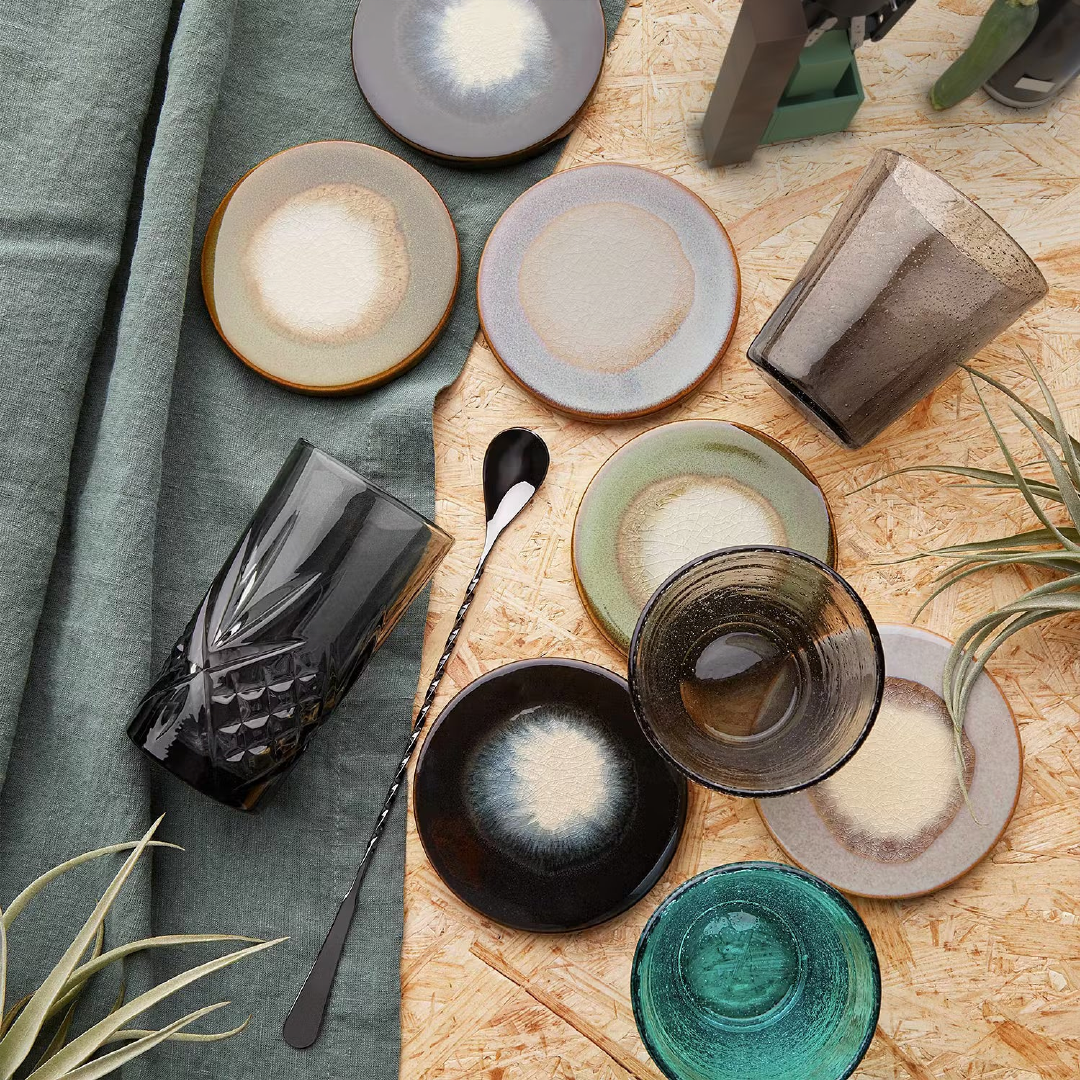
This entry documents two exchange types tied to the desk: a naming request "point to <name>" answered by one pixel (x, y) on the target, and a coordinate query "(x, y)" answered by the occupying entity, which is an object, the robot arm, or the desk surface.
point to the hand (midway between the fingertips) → (806, 67)
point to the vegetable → (986, 50)
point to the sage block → (820, 65)
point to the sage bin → (817, 110)
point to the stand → (752, 78)
